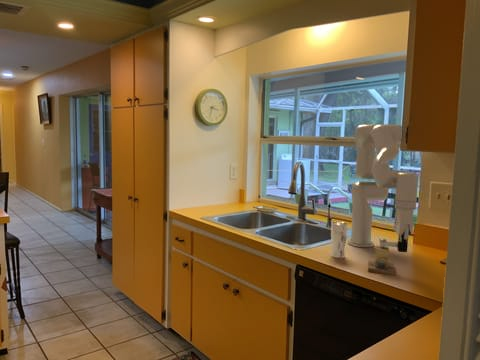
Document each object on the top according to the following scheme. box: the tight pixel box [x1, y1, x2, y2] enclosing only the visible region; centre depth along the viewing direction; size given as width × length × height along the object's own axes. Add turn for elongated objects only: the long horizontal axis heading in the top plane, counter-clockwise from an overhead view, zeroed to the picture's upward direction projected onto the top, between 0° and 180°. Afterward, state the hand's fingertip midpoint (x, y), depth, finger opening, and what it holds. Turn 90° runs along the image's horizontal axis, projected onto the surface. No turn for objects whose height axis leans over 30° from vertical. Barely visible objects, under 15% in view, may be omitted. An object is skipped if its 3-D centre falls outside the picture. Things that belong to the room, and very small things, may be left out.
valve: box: [367, 245, 396, 276], centre depth 157 cm, size 10×10×9 cm
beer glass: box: [330, 221, 348, 259], centre depth 174 cm, size 7×7×15 cm
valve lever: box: [379, 238, 398, 249], centre depth 155 cm, size 10×3×3 cm, turn 71°
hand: (402, 251), depth 150 cm, fingers closed
